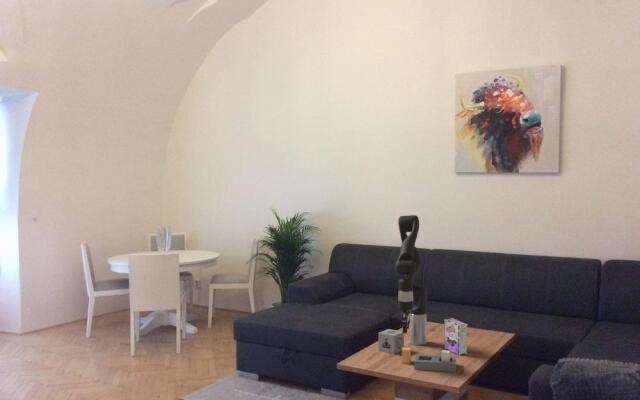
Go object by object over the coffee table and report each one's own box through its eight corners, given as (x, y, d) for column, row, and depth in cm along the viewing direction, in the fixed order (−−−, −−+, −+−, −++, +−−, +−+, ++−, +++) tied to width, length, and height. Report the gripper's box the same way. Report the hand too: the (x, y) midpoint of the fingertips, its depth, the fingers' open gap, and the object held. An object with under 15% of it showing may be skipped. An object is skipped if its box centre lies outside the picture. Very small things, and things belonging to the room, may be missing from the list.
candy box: (443, 348, 320) (443, 318, 319) (453, 347, 322) (452, 317, 321) (458, 355, 307) (458, 324, 306) (467, 354, 309) (467, 323, 308)
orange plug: (402, 360, 300) (402, 347, 300) (410, 361, 299) (410, 347, 299) (401, 363, 296) (401, 349, 296) (409, 363, 295) (409, 350, 295)
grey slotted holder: (416, 361, 298) (416, 346, 298) (456, 364, 293) (456, 348, 293) (414, 369, 287) (414, 353, 286) (455, 372, 281) (455, 355, 281)
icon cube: (388, 346, 325) (388, 328, 324) (404, 349, 318) (403, 331, 318) (378, 350, 317) (378, 332, 317) (394, 354, 311) (393, 335, 310)
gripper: (400, 296, 304) (400, 326, 305) (396, 302, 290) (396, 334, 291) (414, 296, 302) (414, 327, 303) (411, 302, 288) (411, 334, 289)
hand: (405, 330), depth 297 cm, fingers open, 8 cm apart
